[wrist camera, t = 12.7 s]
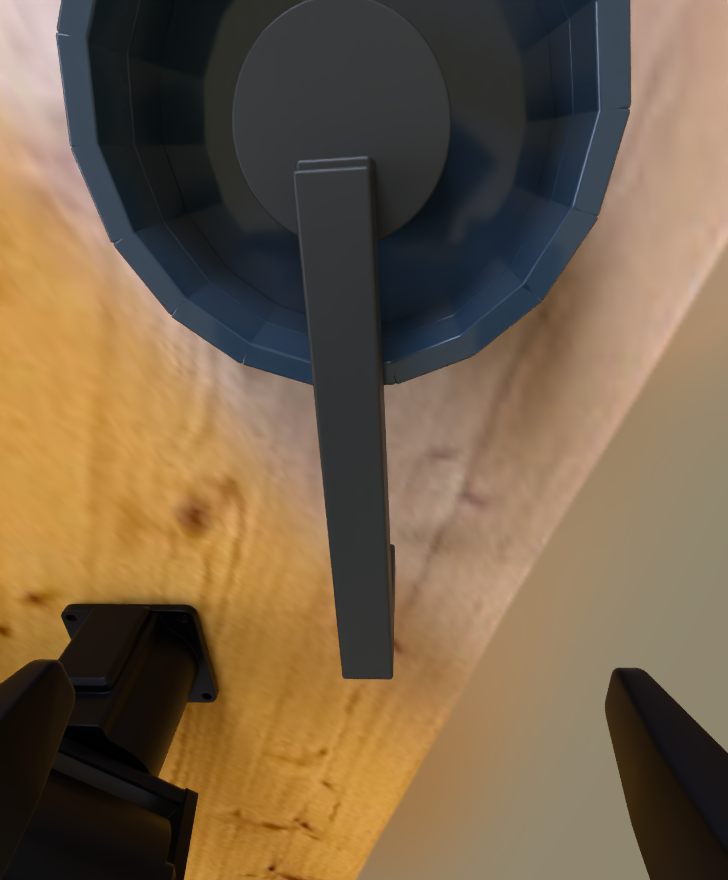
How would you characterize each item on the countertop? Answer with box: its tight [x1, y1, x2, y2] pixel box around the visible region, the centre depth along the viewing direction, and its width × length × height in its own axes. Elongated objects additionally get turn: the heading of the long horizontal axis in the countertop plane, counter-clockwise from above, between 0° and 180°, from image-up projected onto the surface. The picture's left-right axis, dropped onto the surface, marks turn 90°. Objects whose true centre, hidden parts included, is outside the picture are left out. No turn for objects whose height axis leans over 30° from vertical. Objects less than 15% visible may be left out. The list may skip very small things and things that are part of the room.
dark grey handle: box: [232, 0, 452, 679], centre depth 16 cm, size 18×5×6 cm, turn 3°
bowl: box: [56, 0, 631, 385], centre depth 14 cm, size 12×13×4 cm
